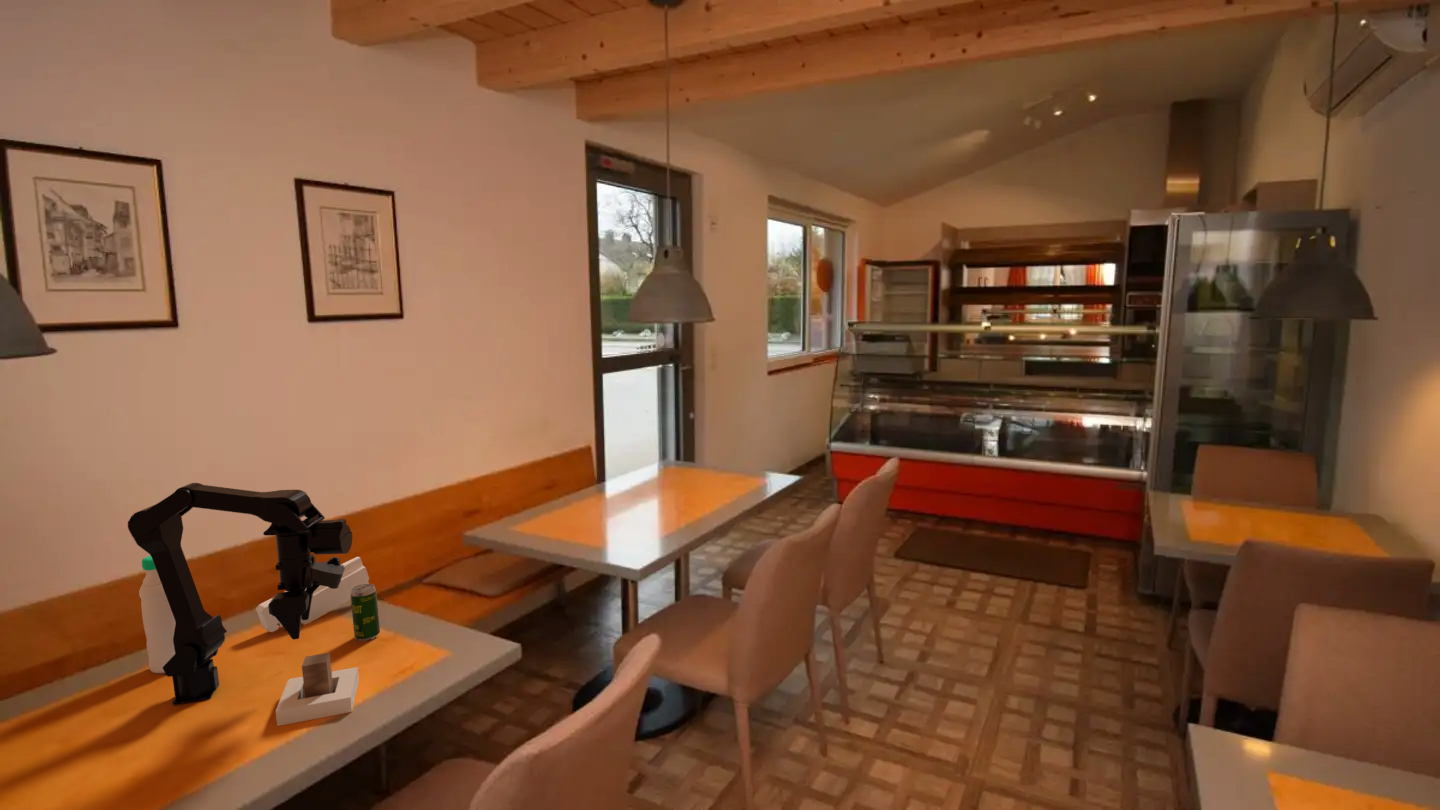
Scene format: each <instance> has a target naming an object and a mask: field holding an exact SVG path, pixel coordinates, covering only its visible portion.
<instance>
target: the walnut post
mask: <svg viewBox="0 0 1440 810" xmlns="http://www.w3.org/2000/svg"><path fill="white" fill-rule="evenodd" d="M330 654H331V653H330V652H324V653H318V654H312V655H307V656H305V657H304V659H303V662H302V664H301V671H302V672H301V673H302V677H303V682H304V690H305V697H304V698H309V697H314V696H320V695H325V694H331V693H335V692H334V691H333V682H332V666H331V655H330Z"/></svg>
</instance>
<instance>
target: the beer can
mask: <svg viewBox="0 0 1440 810" xmlns="http://www.w3.org/2000/svg"><path fill="white" fill-rule="evenodd" d="M350 595H351V599H350V602H351V603H350V605H351V613H352V614H351V616H352V625H353V626H352V627H353V633H354V635H353V636H354V638H355V639H356V641H358V642H367V641H366V640H369V639H372V638H374V637H376V636H377V635H378V634H379V635H380V632H381V627H380V619H379V618H380V617H379V605H378V597H377V589H376V587H375V584H373V583H369V584H362V585H358V586H355V587H353V588H352V589H351V594H350ZM379 635H378V636H379ZM376 638H377V637H376ZM372 640H373V639H372ZM369 641H370V640H369Z"/></svg>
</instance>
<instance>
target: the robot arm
mask: <svg viewBox="0 0 1440 810" xmlns="http://www.w3.org/2000/svg"><path fill="white" fill-rule="evenodd" d="M193 508H197V509H206V510H212V511H221V512H231V513H237V514H243V515H251V516H254V517H257V518H258V519H260V520H262V521H264V522H266V523H270V525H269V527H267V528H266V530H264V531H263V532H262V535H264V536H275V541H276V553H277V562H276V564H275V570H276V571H278V575H279V583H278V584H277V591H282V590H283V591H282V592H277V593H276V594H275V595H274V596H273V597H271V598H272V600H271V602H270V603H269V605H268V606H269V614H271V615H272V616H275V617H276V618H277V620H278V621H279V622H280V623H281V624H282V626H283V627H282V628H284V630H285V631H286V633H287V634H288V635H289V637H290V638H291V639H292V640H299V639H300V634H301V625H302V623H301V618H302V620H308V619H309V614H310V608H311V602H312V597H313V592H314V591H315V590H316V589H317V588H318V587H319V586H320V585H321V586H327V587H329V588H332V589H336V588H338V586H339V584H340V582H341V579H342V576H343V573H344V570H345V568H344V565H342V566H341V564H342V563H341V559H340V557H337V556H331V557H330V558H329V559H328V560H327V561H325V560H322V562H320V561H316V556H317V555H344V554H345V555H346V554H348V553H349V552H350V550H351V548H352V546H353V545H352V544H353V531H351V528H350V525H348V524H347V519H346V518H341V519H340V518H339V519H328V520H327V519H326V520H325V518H326V517H325V516H324V515H323V514H322V513H321V511H320V510H318V508H317V507H316V506H315V505H314V504H313V503H312V501H311V498H310V496H309V495H308V494H307V492H306V491H304V490H301V489H279V490H272V491H271V490H270V491H254V490H248V489H247V490H245V489H238V488H231V487H224V486H215V485H208V484H202V483H199V482H190V483H189V484H186V485H184V486H181V487H179V488H177V489H175V491H174V492H172V493H171V494H170V495H169V496H167V497H165V498H164V499H161V501H159V502H157V503H156V504H154V505H153V504H152V505H151V506H148V507H146V508H144V509H141V510H139V511H136V512H134V513H133V514H132V515H131V516H130V518H129V520H128V521H127V529H128V531H129V534H130V535H131V537H132V538H133V540H134V541H135V543H136V545H137V547H139V548H140V549H142V550H144V551H145V552H146V553H147V554H149V556H151V557H152V560H153V562H154V565H155V568H156V571H157V573H158V576H159V579H160V581H161V584H162V587H163V589H164V592H165V595H166V597H167V600H168V603H169V606H170V608H171V611H172V614H173V616H174V619H175V623H176V624H175V630H174V636H173V644H174V650H175V655H174V656H173V657H172V658H171V659H170V660H169V661H168V662H167V663H166V664H165V665H164V666H163V670H164V672H165V673H164V674H165V675H166V677H167V678H168V677H169V678H170V677H171V678H172V683H173V693H174V699H173V700H172V705H174V706H175V705H181V704H186V703H187V704H188V703H192V702H197V701H203V700H208V699H211V698H212V697H213V695H214V693H215V692H216V691H217V689H218V687H219V685H220V678H219V672H218V671H219V670H218V666H216V665H214V664H215V663H214V659H213V658H214V657H215V656H217V655H218V652H219V648H221V647H222V646H223V644H224V642H225V639H226V636H225V634H226V633H227V632H228V630H227V629H226V628H225V626H224V625H223V620H222V616H221V615H220V614H217V615H215V616H212V615H211V614H209V613H208V612H207V611H206V610H205V609H204V606H203V603H202V600H201V598H200V595H199V591H198V590H197V586H196V584H195V580H194V578H193V575H192V572H191V569H190V567H189V565H188V562H187V559H186V557H185V553H184V550H183V547H182V537H183V532H184V525H183V516H184V515H185V514H187V513H189V512H190V511H191V510H192V509H193ZM304 517H305V518H304ZM301 518H304V519H301ZM314 554H315V555H316V556H315V555H314ZM285 591H287V592H285Z"/></svg>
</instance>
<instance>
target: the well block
mask: <svg viewBox="0 0 1440 810" xmlns="http://www.w3.org/2000/svg"><path fill="white" fill-rule="evenodd" d="M358 670H359V668H358V666H355V667H350V668H346V669H345V668H344V669H337V670H334V671H332V670H331V672H332V682H333V691H334V693H331V694H325V695H320V696H314V697H309V698H305V690H304V682H303V676H298V677H293V678H289V679H288V680H287V682H286V685H285V688H284V689H283V692H282V695H281V697H280V699H279V701H278V704H277V706H276V709H275V716H276V717H275V718H276V719H275V720H276V724H277V727H281V726H284V725H291V724H296V723H302V722H306V721H310V720H317V719H323V718H327V717H332V716H337V715H342V714H348V713H353V709H354V703H355V699H356V694H357V691H358V686H359V682H360V679H359V678H360V677H359V671H358Z"/></svg>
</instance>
